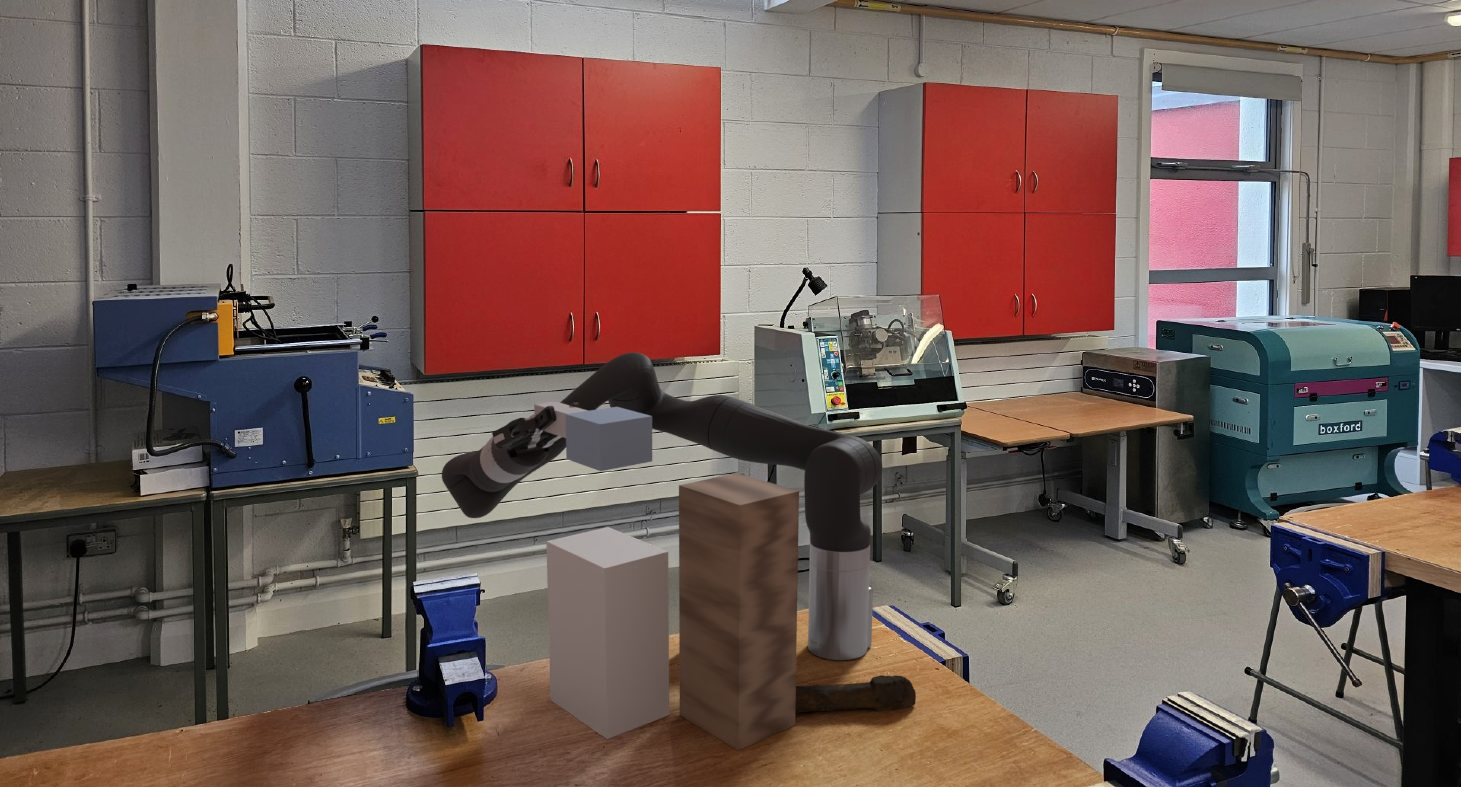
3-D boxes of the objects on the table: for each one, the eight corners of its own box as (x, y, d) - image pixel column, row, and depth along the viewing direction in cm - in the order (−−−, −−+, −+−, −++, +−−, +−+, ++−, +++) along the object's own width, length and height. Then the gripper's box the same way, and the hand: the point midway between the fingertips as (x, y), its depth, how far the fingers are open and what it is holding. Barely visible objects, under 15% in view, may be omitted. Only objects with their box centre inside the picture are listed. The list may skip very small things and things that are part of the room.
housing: (569, 434, 146) (569, 394, 145) (652, 461, 132) (652, 416, 130) (520, 442, 141) (519, 400, 140) (600, 471, 126) (599, 424, 125)
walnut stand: (735, 693, 143) (736, 473, 138) (795, 725, 134) (799, 491, 129) (679, 715, 137) (678, 485, 131) (738, 750, 128) (740, 505, 122)
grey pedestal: (610, 679, 147) (608, 526, 143) (669, 714, 137) (668, 551, 133) (550, 700, 141) (546, 541, 137) (607, 739, 130) (604, 568, 126)
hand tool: (780, 721, 136) (781, 688, 135) (777, 706, 140) (777, 675, 139) (919, 717, 137) (921, 685, 136) (912, 703, 141) (913, 672, 140)
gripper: (463, 434, 148) (512, 390, 135) (548, 422, 157) (601, 380, 144) (477, 483, 146) (527, 443, 133) (561, 467, 155) (616, 429, 143)
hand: (565, 410), depth 139 cm, fingers closed on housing, 3 cm apart
